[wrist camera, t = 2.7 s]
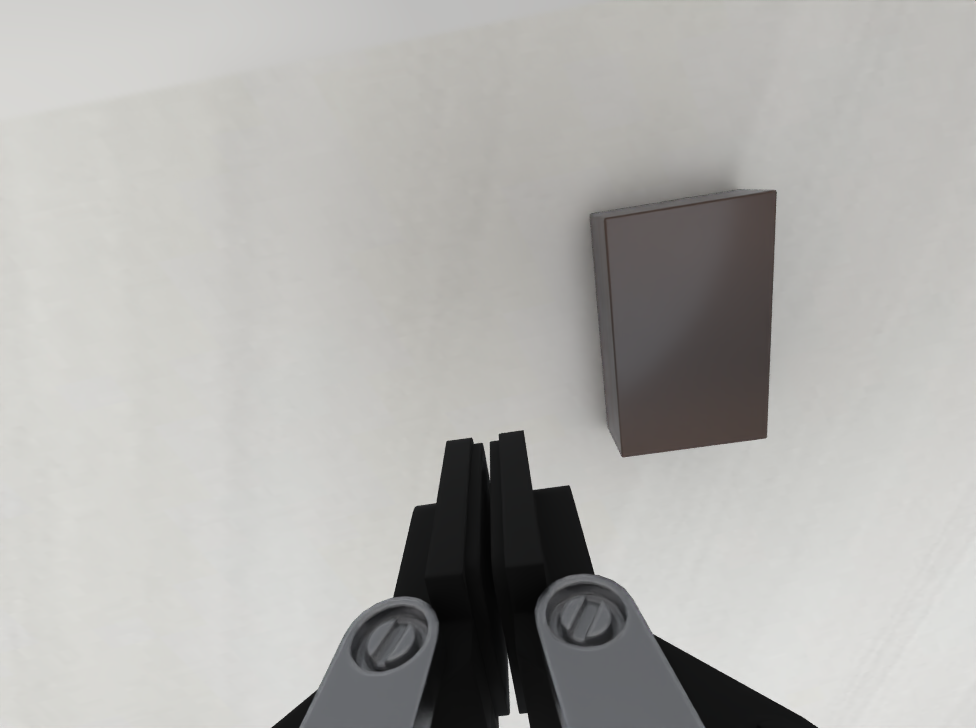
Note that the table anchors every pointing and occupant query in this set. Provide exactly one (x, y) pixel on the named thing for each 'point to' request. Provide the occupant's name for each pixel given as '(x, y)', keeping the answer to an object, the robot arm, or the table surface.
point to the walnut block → (686, 319)
